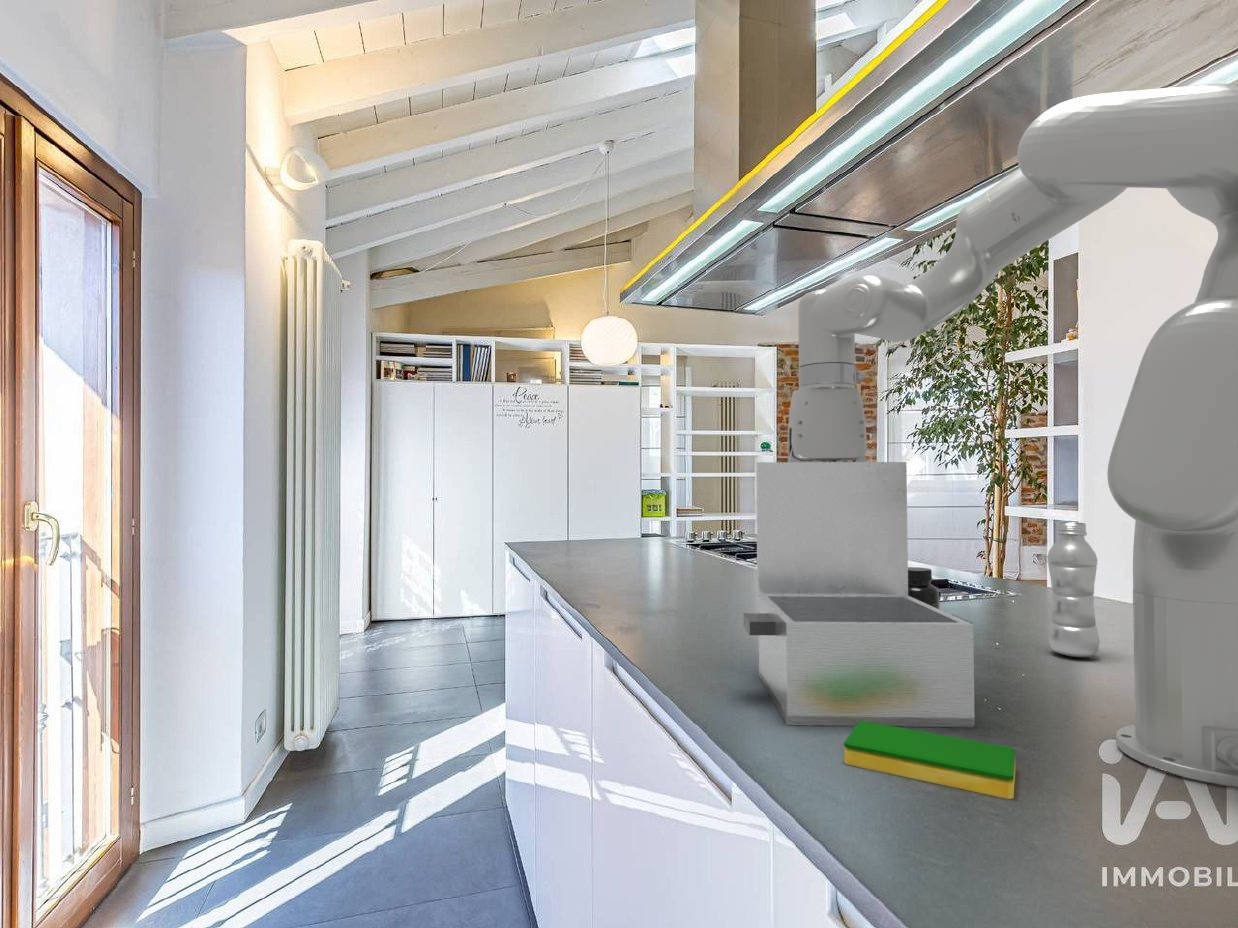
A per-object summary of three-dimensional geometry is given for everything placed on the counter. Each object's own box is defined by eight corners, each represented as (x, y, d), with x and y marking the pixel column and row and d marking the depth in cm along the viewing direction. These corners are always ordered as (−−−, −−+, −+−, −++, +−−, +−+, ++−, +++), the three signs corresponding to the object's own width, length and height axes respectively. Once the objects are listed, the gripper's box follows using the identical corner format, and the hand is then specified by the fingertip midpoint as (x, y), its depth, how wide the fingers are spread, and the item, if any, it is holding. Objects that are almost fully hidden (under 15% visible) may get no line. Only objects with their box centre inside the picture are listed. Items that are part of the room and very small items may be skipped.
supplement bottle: (921, 636, 114) (920, 565, 115) (950, 645, 108) (949, 570, 108) (885, 638, 113) (884, 566, 113) (912, 648, 106) (911, 572, 106)
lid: (906, 462, 91) (898, 462, 94) (757, 462, 92) (753, 463, 95) (908, 595, 91) (899, 591, 94) (758, 594, 92) (754, 591, 95)
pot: (1003, 727, 72) (1001, 624, 73) (759, 724, 73) (758, 623, 74) (931, 677, 90) (930, 595, 91) (736, 676, 91) (736, 594, 92)
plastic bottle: (1050, 658, 100) (1048, 523, 100) (1046, 648, 106) (1044, 521, 106) (1103, 664, 97) (1101, 524, 97) (1096, 653, 103) (1093, 522, 103)
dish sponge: (860, 742, 70) (859, 719, 70) (1015, 773, 62) (1015, 746, 62) (843, 768, 64) (843, 742, 64) (1013, 805, 56) (1013, 775, 56)
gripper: (872, 383, 98) (873, 510, 97) (767, 384, 99) (768, 510, 98) (890, 376, 90) (891, 513, 90) (777, 376, 91) (777, 513, 91)
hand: (827, 511), depth 94 cm, fingers closed
